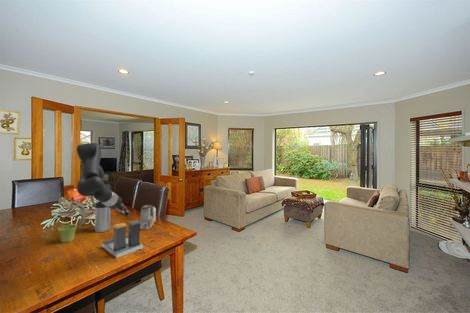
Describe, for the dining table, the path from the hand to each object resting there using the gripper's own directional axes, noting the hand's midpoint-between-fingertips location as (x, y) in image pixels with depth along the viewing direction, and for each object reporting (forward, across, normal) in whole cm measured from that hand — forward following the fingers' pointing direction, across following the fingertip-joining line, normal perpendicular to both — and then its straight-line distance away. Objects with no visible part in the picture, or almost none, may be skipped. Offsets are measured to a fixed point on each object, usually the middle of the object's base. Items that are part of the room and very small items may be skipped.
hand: (126, 210), depth 125 cm
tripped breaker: (+6, -14, +16) cm, 22 cm away
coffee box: (+39, +4, +3) cm, 39 cm away
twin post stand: (+12, -11, +16) cm, 22 cm away
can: (+48, +10, -1) cm, 49 cm away
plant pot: (+14, +21, +39) cm, 46 cm away
